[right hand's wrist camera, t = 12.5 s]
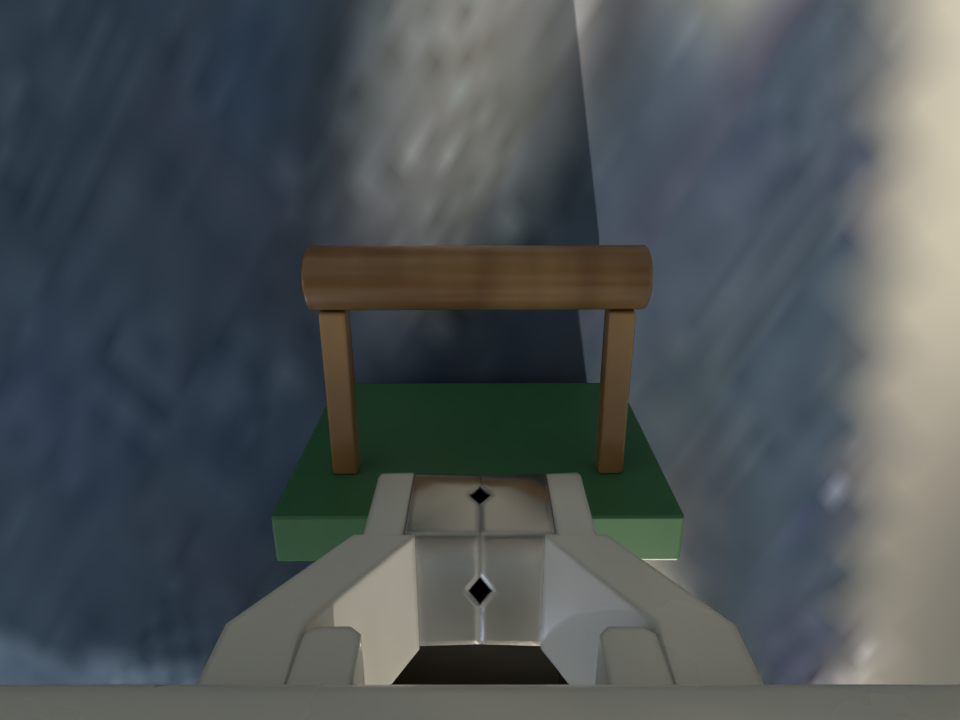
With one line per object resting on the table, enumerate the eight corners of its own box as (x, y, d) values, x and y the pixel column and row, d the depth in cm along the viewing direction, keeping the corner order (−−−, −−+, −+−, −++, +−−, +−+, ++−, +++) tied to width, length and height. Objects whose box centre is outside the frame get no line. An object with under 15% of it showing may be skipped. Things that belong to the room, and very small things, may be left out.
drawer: (321, 208, 20) (235, 268, 13) (633, 207, 20) (716, 267, 13) (374, 823, 29) (342, 1050, 22) (584, 823, 29) (617, 1049, 22)
